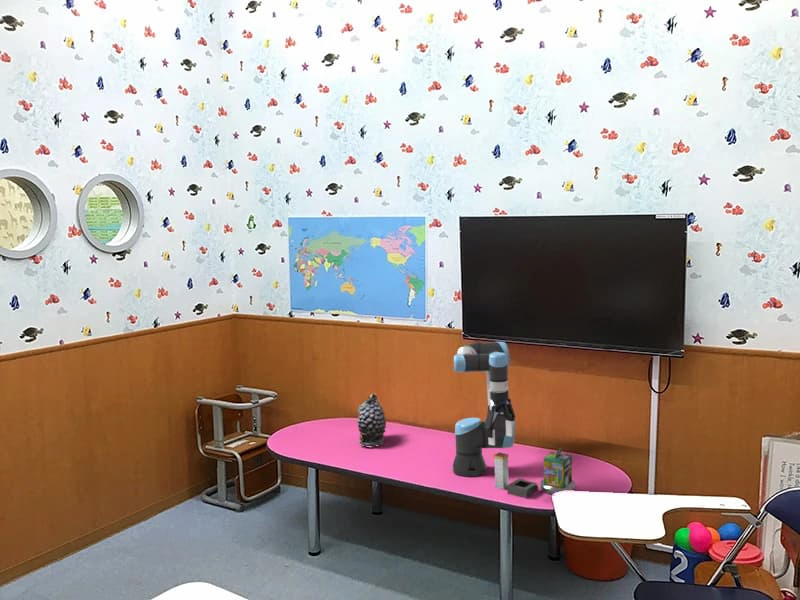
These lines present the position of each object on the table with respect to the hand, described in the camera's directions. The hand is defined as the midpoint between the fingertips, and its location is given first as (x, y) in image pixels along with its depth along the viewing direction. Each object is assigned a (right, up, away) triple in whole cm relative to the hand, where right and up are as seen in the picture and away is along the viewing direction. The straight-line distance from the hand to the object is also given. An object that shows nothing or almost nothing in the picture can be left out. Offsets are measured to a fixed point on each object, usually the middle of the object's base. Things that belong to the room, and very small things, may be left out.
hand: (500, 440), depth 289 cm
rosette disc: (+23, -20, -2) cm, 30 cm away
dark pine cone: (-56, -15, +68) cm, 89 cm away
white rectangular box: (+1, -20, +2) cm, 20 cm away
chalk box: (+23, -17, -3) cm, 29 cm away
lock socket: (+8, -20, -4) cm, 22 cm away
